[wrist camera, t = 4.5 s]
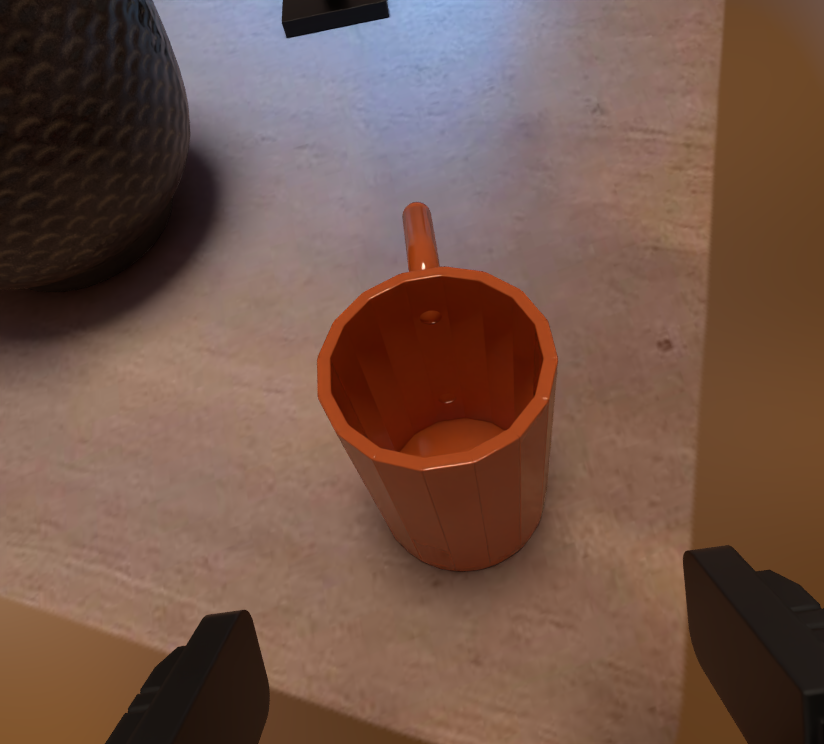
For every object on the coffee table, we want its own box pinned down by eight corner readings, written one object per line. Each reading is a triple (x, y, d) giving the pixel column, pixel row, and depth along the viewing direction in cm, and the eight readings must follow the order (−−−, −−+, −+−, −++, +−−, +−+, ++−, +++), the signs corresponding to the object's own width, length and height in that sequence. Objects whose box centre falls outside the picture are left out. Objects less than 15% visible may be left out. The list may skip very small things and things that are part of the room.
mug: (561, 559, 24) (582, 447, 16) (388, 582, 24) (317, 486, 16) (507, 317, 30) (501, 147, 22) (371, 340, 31) (315, 181, 22)
